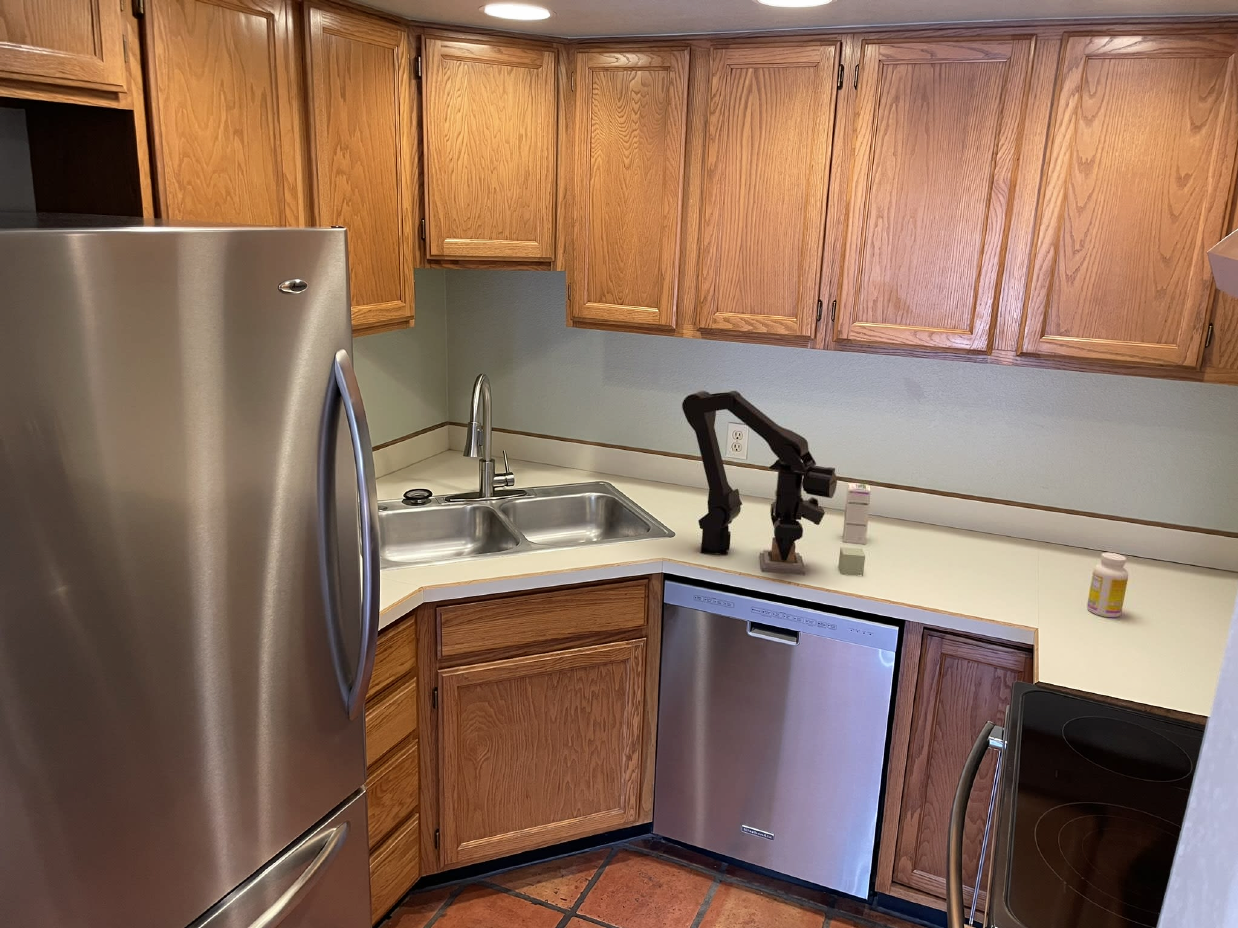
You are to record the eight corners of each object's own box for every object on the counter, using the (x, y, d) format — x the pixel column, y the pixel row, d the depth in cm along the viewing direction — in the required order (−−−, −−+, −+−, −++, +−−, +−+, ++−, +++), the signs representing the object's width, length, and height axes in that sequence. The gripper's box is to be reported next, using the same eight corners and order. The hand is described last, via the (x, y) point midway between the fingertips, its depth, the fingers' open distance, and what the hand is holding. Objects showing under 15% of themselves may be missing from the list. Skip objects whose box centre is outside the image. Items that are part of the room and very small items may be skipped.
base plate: (761, 571, 212) (762, 563, 211) (759, 556, 221) (760, 548, 221) (805, 574, 211) (805, 566, 210) (801, 559, 220) (802, 551, 220)
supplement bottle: (1124, 612, 198) (1135, 556, 194) (1116, 621, 193) (1127, 564, 190) (1091, 603, 202) (1101, 548, 199) (1082, 611, 197) (1092, 555, 194)
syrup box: (865, 544, 233) (872, 490, 229) (842, 542, 234) (848, 487, 230) (864, 537, 238) (871, 484, 235) (841, 535, 240) (847, 481, 236)
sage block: (841, 574, 212) (843, 554, 211) (838, 566, 217) (840, 546, 216) (862, 576, 212) (865, 555, 211) (859, 568, 217) (861, 548, 215)
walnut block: (771, 564, 213) (773, 544, 212) (770, 556, 218) (772, 537, 217) (793, 566, 213) (795, 545, 212) (791, 558, 218) (793, 538, 217)
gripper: (829, 504, 201) (821, 570, 205) (819, 481, 219) (813, 542, 223) (778, 500, 202) (771, 566, 206) (773, 478, 220) (767, 539, 224)
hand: (782, 553), depth 215 cm, fingers open, 9 cm apart
